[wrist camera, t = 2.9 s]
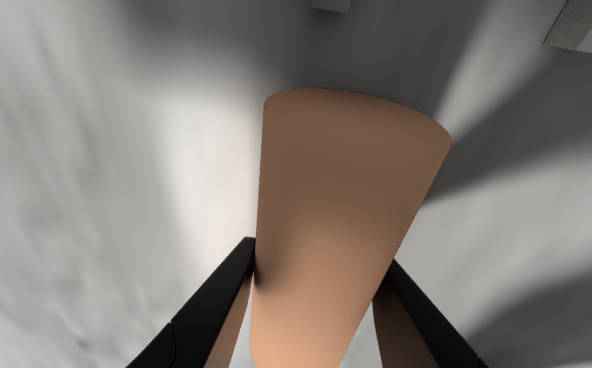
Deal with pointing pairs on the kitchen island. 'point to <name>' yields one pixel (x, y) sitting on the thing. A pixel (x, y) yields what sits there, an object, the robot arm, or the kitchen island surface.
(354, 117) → the roller
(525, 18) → the kitchen island surface
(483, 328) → the kitchen island surface
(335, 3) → the track
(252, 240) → the robot arm
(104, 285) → the kitchen island surface
